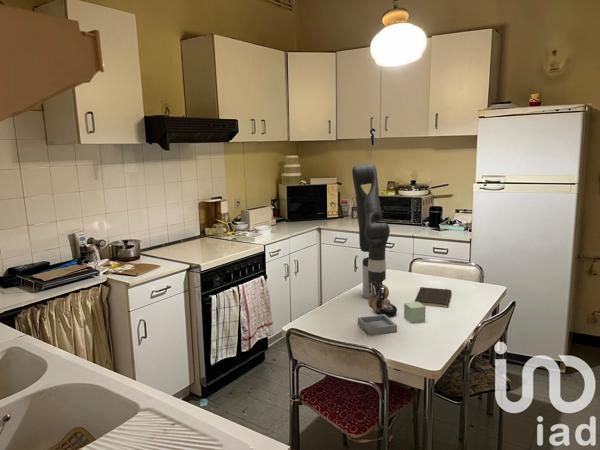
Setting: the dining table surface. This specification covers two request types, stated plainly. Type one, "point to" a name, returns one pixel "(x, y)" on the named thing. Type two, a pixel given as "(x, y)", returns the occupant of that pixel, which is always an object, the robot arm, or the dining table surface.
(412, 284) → the dining table surface
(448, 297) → the hardcover book
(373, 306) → the walnut block
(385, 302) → the caster wheel
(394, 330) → the grey tray
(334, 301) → the dining table surface
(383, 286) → the natural sponge
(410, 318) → the sage block
